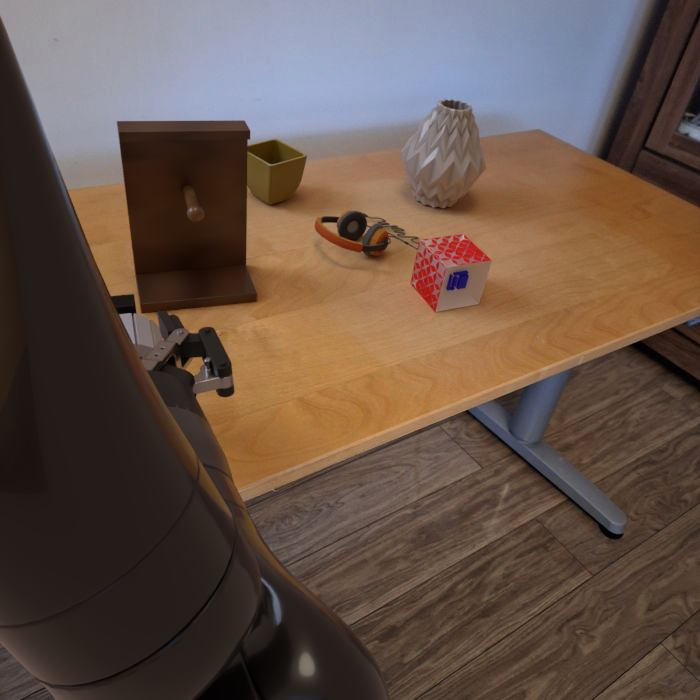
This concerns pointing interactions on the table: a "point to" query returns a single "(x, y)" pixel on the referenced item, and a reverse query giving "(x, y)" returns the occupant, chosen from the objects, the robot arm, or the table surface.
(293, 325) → the table surface
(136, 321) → the grey faceted tube
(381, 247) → the headphones
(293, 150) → the flower pot
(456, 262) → the red patterned cube
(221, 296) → the rack
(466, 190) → the vase
